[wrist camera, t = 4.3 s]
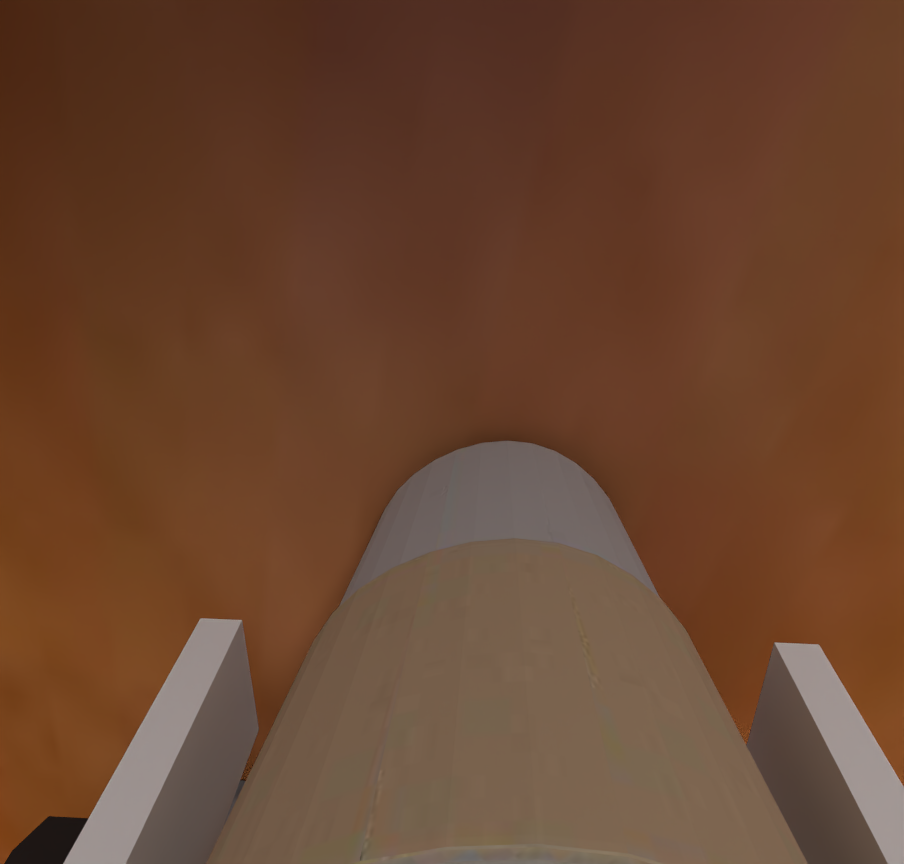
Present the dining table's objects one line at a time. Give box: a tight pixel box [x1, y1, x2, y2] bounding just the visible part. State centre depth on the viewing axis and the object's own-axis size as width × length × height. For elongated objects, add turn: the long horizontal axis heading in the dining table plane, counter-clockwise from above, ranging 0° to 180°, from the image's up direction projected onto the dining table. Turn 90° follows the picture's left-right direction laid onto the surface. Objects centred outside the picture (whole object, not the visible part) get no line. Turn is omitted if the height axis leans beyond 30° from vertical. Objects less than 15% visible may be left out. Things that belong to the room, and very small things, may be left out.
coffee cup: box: [206, 441, 808, 864], centre depth 10 cm, size 9×9×15 cm
